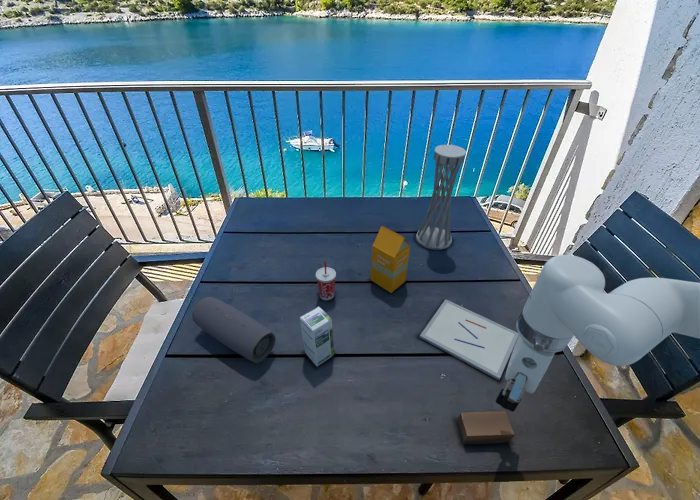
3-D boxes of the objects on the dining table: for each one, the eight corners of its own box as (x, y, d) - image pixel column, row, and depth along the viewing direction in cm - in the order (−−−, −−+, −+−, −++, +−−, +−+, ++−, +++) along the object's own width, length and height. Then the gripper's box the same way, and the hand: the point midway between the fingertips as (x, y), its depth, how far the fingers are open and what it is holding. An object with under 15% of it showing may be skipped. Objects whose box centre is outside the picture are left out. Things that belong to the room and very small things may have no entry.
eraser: (509, 442, 75) (514, 434, 72) (463, 444, 75) (467, 436, 72) (500, 419, 79) (505, 410, 76) (456, 421, 79) (460, 412, 76)
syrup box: (316, 367, 89) (313, 331, 80) (303, 352, 93) (299, 316, 84) (334, 355, 92) (332, 319, 83) (321, 341, 96) (318, 305, 86)
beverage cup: (313, 298, 108) (310, 264, 99) (323, 285, 112) (320, 252, 104) (331, 304, 106) (329, 270, 97) (340, 291, 110) (339, 257, 102)
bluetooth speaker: (279, 347, 94) (274, 323, 88) (254, 373, 88) (247, 349, 82) (222, 312, 104) (214, 288, 97) (196, 333, 97) (185, 309, 91)
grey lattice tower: (449, 252, 126) (471, 161, 104) (413, 245, 129) (426, 156, 107) (453, 232, 136) (472, 145, 114) (418, 226, 139) (431, 140, 117)
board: (518, 335, 97) (519, 333, 96) (498, 380, 86) (500, 378, 86) (444, 301, 107) (445, 299, 107) (419, 337, 96) (419, 335, 96)
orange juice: (391, 293, 110) (396, 243, 97) (370, 280, 115) (372, 230, 102) (405, 281, 114) (413, 231, 102) (385, 268, 119) (389, 219, 107)
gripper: (561, 381, 47) (521, 436, 58) (579, 302, 58) (542, 361, 69) (504, 354, 50) (476, 411, 61) (531, 284, 61) (504, 343, 72)
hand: (511, 384), depth 65 cm, fingers open, 9 cm apart
